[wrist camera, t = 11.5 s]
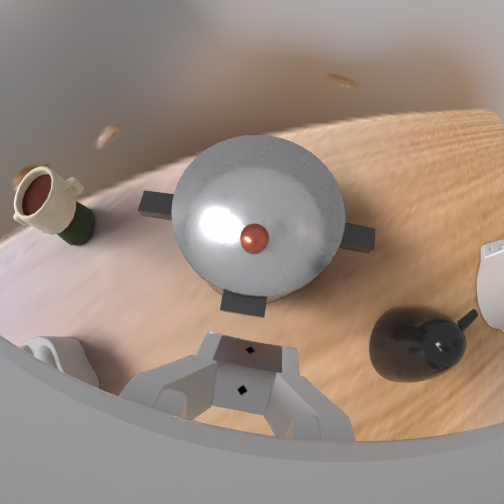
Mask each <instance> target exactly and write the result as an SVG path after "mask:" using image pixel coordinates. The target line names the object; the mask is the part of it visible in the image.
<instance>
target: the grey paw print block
mask: <svg viewBox="0 0 504 504" xmlns="http://www.w3.org/2000/svg"><path fill="white" fill-rule="evenodd" d="M19 348H21V349H22V350H24V351H26V352H27V353H29V354H31V355H33V356H34V357H36V358H38V359H40V360H41V361H43V362H45V363H47V364H49V365H51V366H52V367H54V368H56V369H58V370H60V371H62V372H64V373H66V374H68V375H70V376H72V377H74V378H76V379H79V380H81V381H83V382H85V383H87V384H89V385H92V386H94V387H96V388H100V382H99V378H98V376H97V374H96V372H95V371H94V369H93V368H92V367H91V365H90V363H89V361H88V359H87V356H86V353H85V350H84V348H83V346H82V344H81V343H80V342H79V341H78V340H77V339H75V338H73V337H45V336H40V337H35V338H33V339H31V340H29V341H27V342H26V343H24V344H23V345H22V346H20V347H19Z"/></svg>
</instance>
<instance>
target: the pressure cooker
mask: <svg viewBox="0 0 504 504" xmlns="http://www.w3.org/2000/svg"><path fill="white" fill-rule="evenodd" d="M173 197H174V194H168V193H160V192H151V191H144V193H143V196H142V199H141V202H140V206H139V209H138V211H139V212H140V214H141V215H142V216H146V217H153V218H160V219H166V220H172V201H173ZM374 240H375V229H374V228H369V227H364V226H360V225H355V224H350V223H345V227H344V233H343V237H342V241H341V243H340V246H339V248H342V249H348V250H353V251H359V252H364V253H370V252H371V251H373V250H374ZM181 251H182V250H181ZM182 253H183V252H182ZM184 256H185V255H184ZM185 258H186V257H185ZM186 260H187V258H186ZM187 261H188V260H187ZM188 263H189V264H190V265H191V263H190V262H189V261H188ZM191 266H192V265H191ZM192 268H193V269H194V270H195V272H196V273H197V274H198V275H199V276H200V277H202V278H203V279H204V280H205V281H206V282H207V283H208V284H209V285H210V286H211V287H212V288H213V289H214V290H215V291H216V292H218V293H219V294H220V295H222V302H221V307H220V310H221V311H224V312H230V313H236V314H242V315H248V316H254V317H261V318H263V317H264V315H265V308H266V303H270V302H273V301H276V300H278V299H280V298H283V297H284V296H286V295H287V294H290V293H292V292H294V291H296V290H299V289H300V288H302V287H304V286H305V285H307V284H308V283H310V282H311V281H312V280H313V279H314V278H313V279H312V280H311V281H309V282H308V283H306V284H304V285H303V286H301V287H299V288H297V289H295V290H293V291H290V292H287V293H284V294H281V295H275V296H269V297H252V296H244V295H240V294H235V293H232V292H229V291H227V290H224V289H222V288H220V287H218V286H216V285H214V284H213V283H211V282H210V281H208V280H207V279H206V278H204V277H203V276H202V275H201V274H200V273H199V272H198V271H197V270H196V269H195V268H194V267H193V266H192ZM319 274H320V273H319ZM319 274H318V275H319ZM318 275H317V276H318ZM317 276H316V277H317ZM316 277H315V278H316Z"/></svg>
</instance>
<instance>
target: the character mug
mask: <svg viewBox="0 0 504 504" xmlns="http://www.w3.org/2000/svg"><path fill="white" fill-rule="evenodd" d="M70 186H73V187H74V189H71V187H70ZM83 190H84V187H83V186H82V185H81V184H80V183H79V181H78V180H77V179H75V178H74V177H71V178H68V179H67V180H65V181H64V180H63V179H61V177H59V176H58V175H57V174H56V173H55V172H53V171H52V170H51V169H49V168H48V167H43V166H40V167H37V168H35V169H33V170H32V171H30V172H29V173H28V174H27V175H26V176H25V177H24V179H23V180H22V182H21V183H20V185H19V187H18V189H17V192H16V195H15V201H14V208H15V212H16V213H15V214H14V216H13V217H14V219H15V220H16V221H17V222H19V223H20V224H22V225H24V226H27V225H29V224H30V225H31V226H33V227H35V228H36V229H38V230H40V231H42V232H43V233H47V234H52V235H54V234H58V235H59V236H60V237H61V238H62V239H63V240H65V241H66V242H67V243H69V244H70V245H80V244H82V243H84V242H86V240H87V239H88V238H89V236H90V235H91V233H92V230H93V227H94V215H93V213H92V211H91V210H90V209H88V208H87V207H85V206H84V205H82V204H80V203H78V202H77V201H76V199H75V196H77V195H78V194H80V193H82V192H83Z"/></svg>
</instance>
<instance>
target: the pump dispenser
mask: <svg viewBox="0 0 504 504" xmlns="http://www.w3.org/2000/svg"><path fill="white" fill-rule="evenodd" d="M477 317H478V312H477V310H476V309H472V310H471V311H470V312H469V313H467V314H466V315H465V316H464V317H462V318H461V319H460V320H459V321H456V320H455V319H454V318H453V317H451V316H449V315H448V314H446V313H444V312H442V311H440V310H437V309H434V308H431V307H427V306H421V305H400V306H396V307H393V308H391V309H389V310H388V311H386V312H385V313H384V314H383V315H382V316H381V317H380V318H379V319H378V321H377V322H376V324H375V325H374V327H373V328H372V331H371V333H370V336H369V341H368V352H369V357H370V360H371V362H372V365H373V367H374V368H375V370H376V371H377V373H378V374H379V375H381V376H382V377H383V378H385V379H387V380H390V381H393V382H399V383H412V382H420V381H425V380H429V379H432V378H435V377H438V376H440V375H442V374H444V373H446V372H448V371H449V370H451V369H452V368H453V367H454V366H455V365H457V363H458V362H459V361H460V360H461V358H462V357H463V355H464V352H465V349H466V336H465V332H464V331H465V330H466V329H467V328H468V327H469V325H470V324H471V323H472V322H473V321H474V320H475V319H476V318H477Z"/></svg>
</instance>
